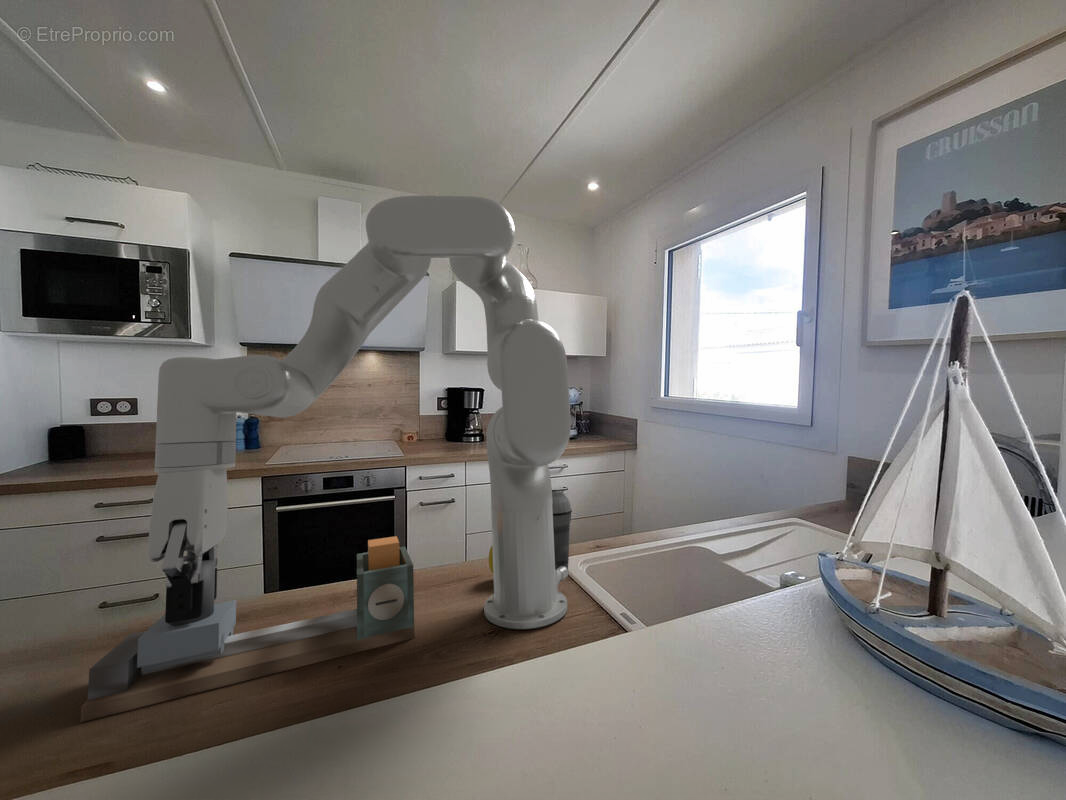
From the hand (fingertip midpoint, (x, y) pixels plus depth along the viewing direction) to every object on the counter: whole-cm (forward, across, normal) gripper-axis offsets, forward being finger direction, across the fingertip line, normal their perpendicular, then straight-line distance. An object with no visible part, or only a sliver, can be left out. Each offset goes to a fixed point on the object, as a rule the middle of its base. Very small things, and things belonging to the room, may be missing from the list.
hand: (192, 609), depth 46 cm
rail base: (+7, 0, +9) cm, 12 cm away
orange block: (-1, 0, +21) cm, 22 cm away
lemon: (+7, -7, +42) cm, 44 cm away
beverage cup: (+7, -6, +52) cm, 53 cm away
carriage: (+5, 0, 0) cm, 5 cm away
